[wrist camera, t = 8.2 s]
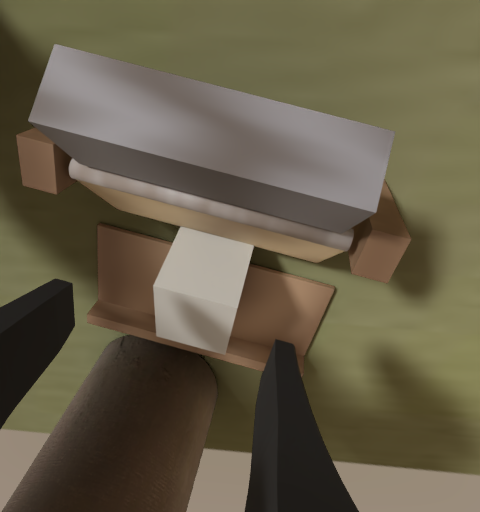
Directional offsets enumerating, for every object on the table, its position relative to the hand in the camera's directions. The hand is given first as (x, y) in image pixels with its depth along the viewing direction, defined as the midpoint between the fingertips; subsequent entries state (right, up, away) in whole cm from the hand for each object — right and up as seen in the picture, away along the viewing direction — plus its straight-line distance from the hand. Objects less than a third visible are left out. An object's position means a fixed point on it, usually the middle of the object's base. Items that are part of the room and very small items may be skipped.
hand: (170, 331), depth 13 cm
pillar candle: (-4, -7, +17) cm, 19 cm away
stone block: (0, +1, +7) cm, 7 cm away
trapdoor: (+2, +7, +2) cm, 8 cm away
